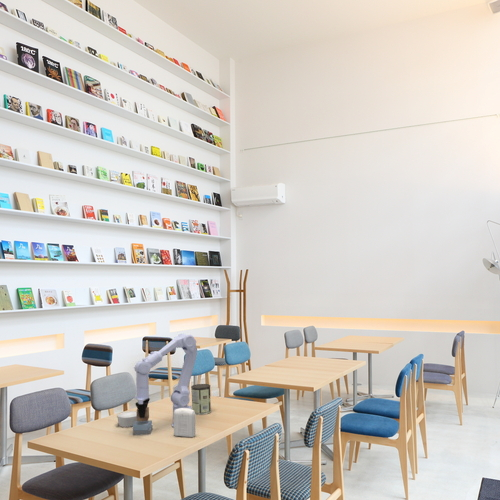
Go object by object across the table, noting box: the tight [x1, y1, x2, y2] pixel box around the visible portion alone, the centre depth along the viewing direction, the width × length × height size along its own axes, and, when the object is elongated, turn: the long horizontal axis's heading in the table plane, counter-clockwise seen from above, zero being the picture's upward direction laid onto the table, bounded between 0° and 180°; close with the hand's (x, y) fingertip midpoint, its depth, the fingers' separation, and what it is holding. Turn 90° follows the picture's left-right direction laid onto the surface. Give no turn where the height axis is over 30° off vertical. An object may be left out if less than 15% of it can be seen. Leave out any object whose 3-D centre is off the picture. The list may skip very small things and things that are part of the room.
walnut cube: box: [136, 406, 150, 421], centre depth 225 cm, size 5×5×5 cm
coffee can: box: [190, 383, 212, 416], centre depth 257 cm, size 10×10×14 cm
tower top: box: [132, 419, 153, 431], centre depth 225 cm, size 7×7×2 cm
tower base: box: [132, 424, 154, 436], centre depth 225 cm, size 8×8×2 cm
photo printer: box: [173, 408, 196, 438], centre depth 218 cm, size 10×4×12 cm, turn 72°
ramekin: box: [116, 410, 137, 428], centre depth 238 cm, size 11×11×5 cm
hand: (142, 416), depth 225 cm, fingers closed on walnut cube, 5 cm apart
